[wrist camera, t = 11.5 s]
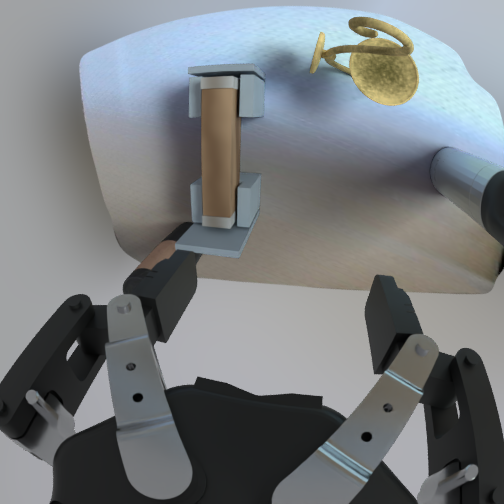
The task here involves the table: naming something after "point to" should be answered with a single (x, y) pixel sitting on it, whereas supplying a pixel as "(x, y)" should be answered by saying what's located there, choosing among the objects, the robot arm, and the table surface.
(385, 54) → the wall sconce
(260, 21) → the table surface
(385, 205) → the table surface
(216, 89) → the brown wooden bar
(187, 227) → the travel mug
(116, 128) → the table surface
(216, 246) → the pair of grey brackets
